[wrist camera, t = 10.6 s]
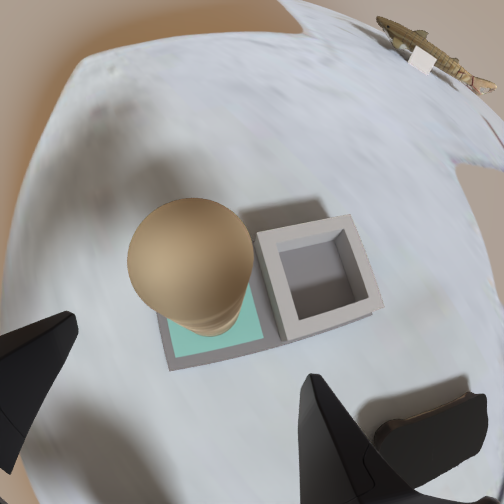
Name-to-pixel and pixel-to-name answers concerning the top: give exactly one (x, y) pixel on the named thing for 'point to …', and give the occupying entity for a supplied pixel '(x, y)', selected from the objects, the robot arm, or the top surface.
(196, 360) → the jig board
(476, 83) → the wood carving
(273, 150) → the top surface
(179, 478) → the top surface
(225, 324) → the maple post
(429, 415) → the black sponge
